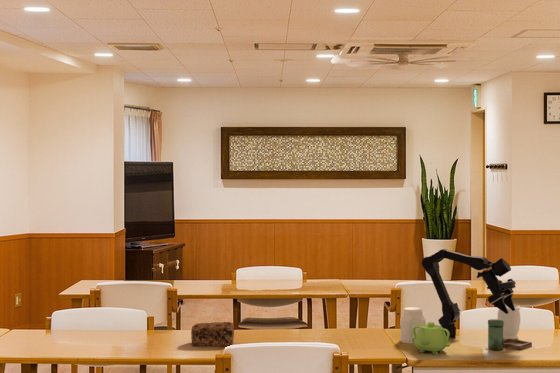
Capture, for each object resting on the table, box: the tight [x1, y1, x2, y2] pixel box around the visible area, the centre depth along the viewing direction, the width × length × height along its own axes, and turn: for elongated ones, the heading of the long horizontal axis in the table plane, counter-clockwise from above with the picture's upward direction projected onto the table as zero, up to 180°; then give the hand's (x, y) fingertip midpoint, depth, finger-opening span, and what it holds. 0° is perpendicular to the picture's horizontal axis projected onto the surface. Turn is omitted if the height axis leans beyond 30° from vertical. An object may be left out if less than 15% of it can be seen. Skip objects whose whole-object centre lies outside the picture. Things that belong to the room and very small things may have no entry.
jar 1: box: [399, 306, 427, 345], centre depth 370 cm, size 12×10×15 cm
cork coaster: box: [484, 347, 507, 353], centre depth 351 cm, size 9×9×1 cm
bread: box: [190, 321, 235, 347], centre depth 363 cm, size 19×11×10 cm, turn 88°
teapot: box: [412, 321, 451, 355], centre depth 349 cm, size 16×14×13 cm
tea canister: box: [487, 318, 504, 352], centre depth 351 cm, size 7×7×12 cm
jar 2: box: [496, 304, 521, 340], centre depth 378 cm, size 11×10×15 cm
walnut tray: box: [503, 339, 533, 351], centre depth 358 cm, size 11×11×2 cm
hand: (510, 312), depth 364 cm, fingers open, 9 cm apart
